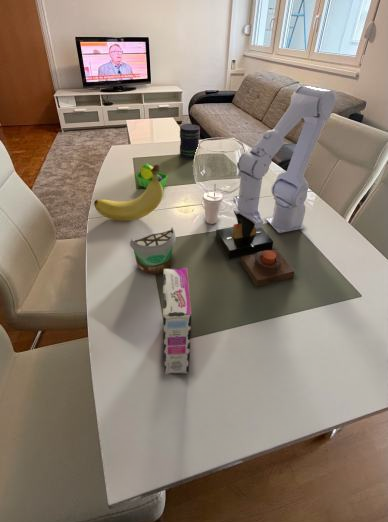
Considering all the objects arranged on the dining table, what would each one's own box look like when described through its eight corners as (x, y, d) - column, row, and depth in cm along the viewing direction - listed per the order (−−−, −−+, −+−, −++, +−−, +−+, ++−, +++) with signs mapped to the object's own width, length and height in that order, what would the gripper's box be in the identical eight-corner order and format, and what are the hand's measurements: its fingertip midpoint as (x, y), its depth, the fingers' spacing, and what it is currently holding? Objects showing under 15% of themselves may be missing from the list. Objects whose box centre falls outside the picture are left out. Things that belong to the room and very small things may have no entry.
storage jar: (177, 158, 148) (177, 129, 141) (181, 151, 156) (181, 123, 149) (197, 160, 146) (198, 130, 139) (200, 152, 155) (201, 124, 148)
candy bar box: (190, 374, 56) (192, 315, 48) (164, 376, 56) (161, 316, 48) (187, 322, 66) (187, 266, 58) (164, 323, 66) (162, 267, 58)
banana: (94, 223, 98) (85, 168, 89) (98, 213, 103) (90, 160, 94) (163, 223, 99) (161, 168, 89) (164, 213, 104) (162, 161, 95)
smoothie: (219, 227, 97) (222, 190, 91) (200, 224, 99) (201, 187, 92) (221, 216, 103) (224, 180, 96) (203, 214, 104) (205, 178, 98)
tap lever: (253, 231, 91) (255, 220, 89) (255, 234, 89) (257, 223, 87) (232, 235, 89) (233, 224, 87) (234, 239, 87) (235, 227, 85)
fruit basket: (169, 186, 121) (168, 161, 116) (155, 195, 115) (154, 169, 110) (147, 179, 127) (146, 154, 121) (133, 187, 120) (131, 161, 115)
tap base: (254, 228, 97) (256, 220, 96) (273, 250, 88) (274, 242, 86) (215, 236, 93) (215, 228, 92) (229, 260, 84) (230, 251, 82)
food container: (139, 284, 75) (136, 253, 71) (132, 268, 80) (129, 238, 75) (183, 268, 81) (183, 239, 76) (174, 254, 85) (173, 226, 81)
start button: (270, 254, 81) (271, 249, 80) (277, 262, 78) (278, 257, 77) (258, 256, 80) (259, 251, 79) (265, 265, 77) (266, 260, 76)
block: (275, 255, 86) (277, 244, 84) (293, 277, 79) (296, 265, 77) (240, 262, 83) (242, 251, 81) (256, 286, 75) (258, 275, 74)
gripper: (225, 184, 87) (222, 222, 94) (248, 210, 75) (243, 252, 82) (247, 181, 89) (242, 219, 96) (272, 206, 77) (265, 247, 84)
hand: (244, 234), depth 89 cm, fingers closed on tap lever, 2 cm apart
